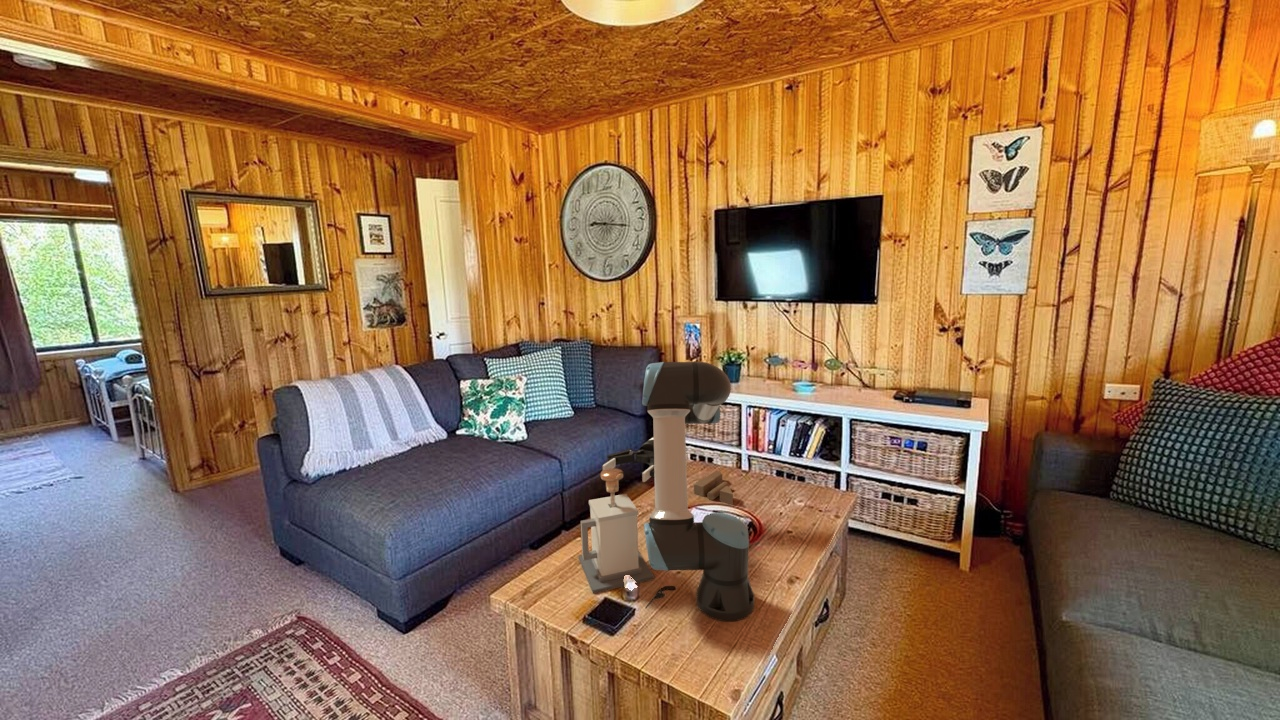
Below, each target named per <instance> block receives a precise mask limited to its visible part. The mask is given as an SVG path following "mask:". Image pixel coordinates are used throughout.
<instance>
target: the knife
mask: <svg viewBox="0 0 1280 720" xmlns="http://www.w3.org/2000/svg"><path fill="white" fill-rule="evenodd" d="M676 589H677V588H676V586H675V585H666V586H662V587H660V588H659V589H658V590H657V591H656V592H655V595H654V596H653V597H652V598H651V599H650V601H649V602H648V604H647V605H646V606H645V608H644V609H648V607H649V606H650V605H651V603H652V602H653V601H654V600H656V599H657V600H659V599H664V597H666V594H665V593H664V591H676Z"/></svg>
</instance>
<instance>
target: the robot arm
mask: <svg viewBox="0 0 1280 720" xmlns="http://www.w3.org/2000/svg"><path fill="white" fill-rule="evenodd" d="M731 385H732V384H731V381H730V378H729V376H728V375H727V374H726V373H725V371H724V370H722V369H721V368H719V366H716V365H715V364H712V363H709V362H704V361H662V362H661V361H660V362H653V363H649V364H647V366H646V367H645V373H644V380H643V389H642V400H641V402H642V403H641V404H642V406H645V407H647V413H648V414H649V415H650V416H651V417H652V419H653V421H652V422H653V424H652V425H653V428H652V429H653V436H652V437H651V438H650V439H648V440H647V441H645V442H644V443H643V444H641V446H640V447H639V449H638V450H635V451H633V448H627V449H626V450H622V451H619V452H615V453H612V454H608V455H607V459H606V460H607V461H606V462H605V463H604V464H603V465H602V471H603V470H605V469H611V468H616V466H617V465H622V464H623V465H624V464H628V463H632V464H638V463H641V464H642V463H643V464H647V465H649V467H648V468H647V469H645V470H644V471H642V472H641V477H642V478H641V479H642V481H641V482H642V483H646V482H647V481H648V480H649V479H650V478H651V477H654V510H653V511H652V513H650V515H649V522H648V521H647V522H645V523H644V525H643V529H644V536H645V544H646V551H647V557H648V558H647V559H648V562H649V566H650V568H652V570H655V571H667V572H670V571H702V575H701V578H700V581H699V584H698V586H697V589H696V597H695V598H696V601H695V602H696V605H697V607H698V609H699V610H700V611H701V612H702V613H703V614H705V615H706V616H707V617H710V618H712V619H714V620H717V621H723V622H725V621H726V622H734V621H740V620H742V619H745V618H747V617H748V616H750V615H751V614H752V612H753V610H754V609H755V594H754V592H753V589H752V588H753V587H752V586H751V582H750V579H749V576H748V575H749V547H750V540H749V530H748V529H749V528H748V527H747V525H746V524H745V523H744V522H743V521H742V520H741V519H740V518H737V517H736V516H734V515H731V514H728V513H722V512H712V513H710V514H706V515H705V516H703V518H702V522H695V520H694V519H695V518H694V517H695V516H694V514H693V513H692V512H691V511H690V510H689V508H688V504H689V503H688V478H687V475H688V474H687V451H686V450H687V446H686V425H702V424H704V425H705V424H708V425H712V424H718V423H720V421H721V405H723V404H724V403H726V401H727V400H728V398H729V397H730V395H731V390H732V386H731Z"/></svg>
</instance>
